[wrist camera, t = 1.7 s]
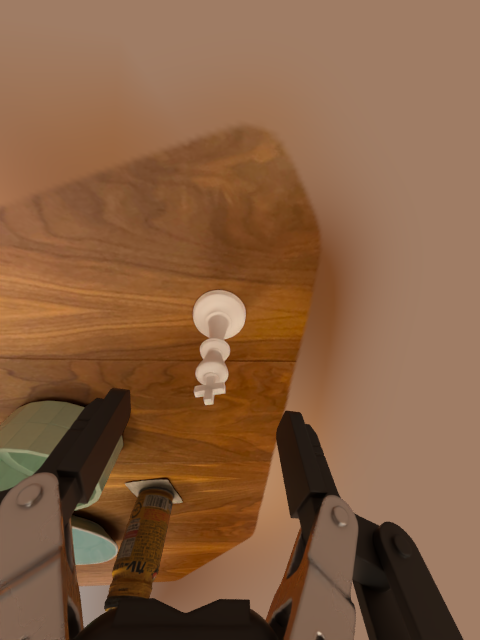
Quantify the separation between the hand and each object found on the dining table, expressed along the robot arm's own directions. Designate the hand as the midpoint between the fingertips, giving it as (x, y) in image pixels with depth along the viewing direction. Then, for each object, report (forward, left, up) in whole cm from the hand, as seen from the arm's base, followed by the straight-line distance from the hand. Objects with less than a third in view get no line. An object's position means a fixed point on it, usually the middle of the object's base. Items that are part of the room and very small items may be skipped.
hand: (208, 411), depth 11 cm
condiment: (+36, -5, -11) cm, 38 cm away
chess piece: (0, 0, -11) cm, 11 cm away
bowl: (+21, -16, -10) cm, 28 cm away
